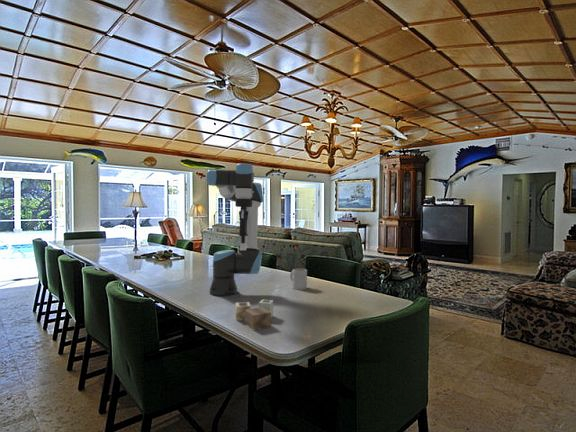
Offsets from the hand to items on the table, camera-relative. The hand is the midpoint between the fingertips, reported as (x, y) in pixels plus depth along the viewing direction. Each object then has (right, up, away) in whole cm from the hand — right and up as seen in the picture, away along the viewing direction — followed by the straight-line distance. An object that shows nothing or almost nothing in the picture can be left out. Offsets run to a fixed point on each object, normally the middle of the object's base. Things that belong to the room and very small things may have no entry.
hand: (243, 250), depth 155 cm
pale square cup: (+11, -29, -6) cm, 31 cm away
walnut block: (+8, -29, -16) cm, 34 cm away
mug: (+26, -28, +49) cm, 62 cm away
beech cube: (+1, -29, -7) cm, 30 cm away
